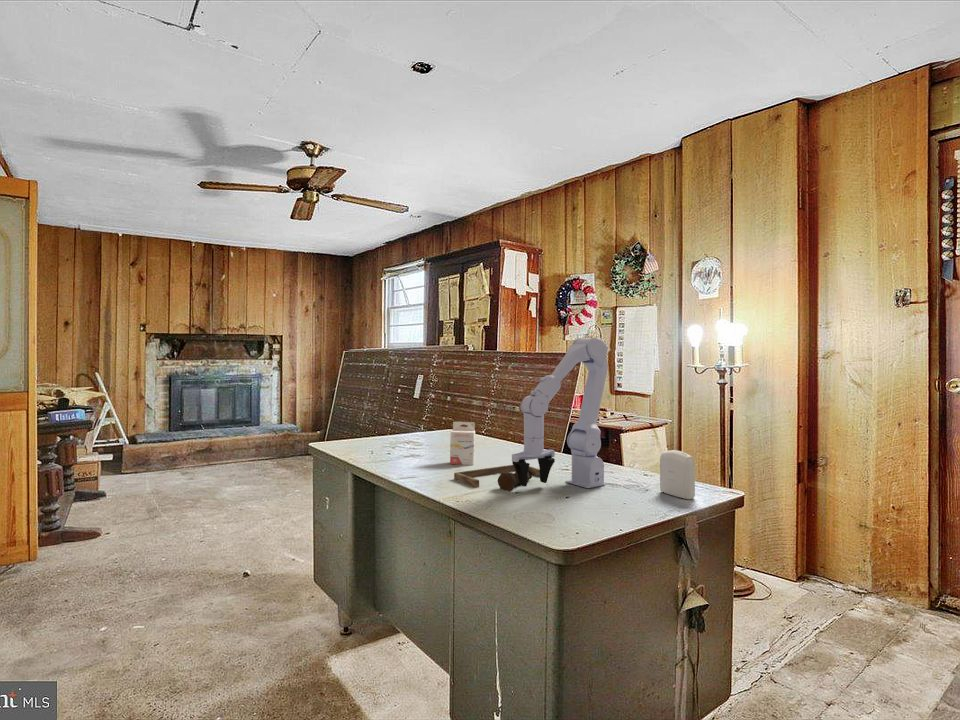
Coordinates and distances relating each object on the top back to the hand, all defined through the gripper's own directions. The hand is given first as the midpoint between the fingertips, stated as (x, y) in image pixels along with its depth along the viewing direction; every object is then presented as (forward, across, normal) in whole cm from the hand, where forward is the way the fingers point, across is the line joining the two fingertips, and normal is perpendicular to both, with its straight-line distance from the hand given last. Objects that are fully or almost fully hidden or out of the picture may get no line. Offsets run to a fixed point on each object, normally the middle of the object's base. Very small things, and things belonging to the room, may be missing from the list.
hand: (533, 484), depth 154 cm
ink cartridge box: (+2, -2, -42) cm, 42 cm away
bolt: (+2, +1, -6) cm, 7 cm away
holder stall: (+1, 0, -17) cm, 17 cm away
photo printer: (+2, -29, +27) cm, 40 cm away
